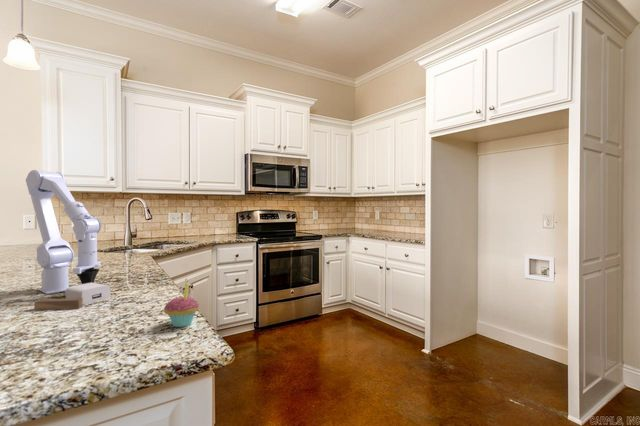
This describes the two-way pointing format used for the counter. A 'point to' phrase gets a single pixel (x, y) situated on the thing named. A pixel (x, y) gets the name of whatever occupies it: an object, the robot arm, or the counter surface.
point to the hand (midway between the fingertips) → (88, 290)
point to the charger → (89, 292)
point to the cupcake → (181, 310)
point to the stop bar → (58, 304)
